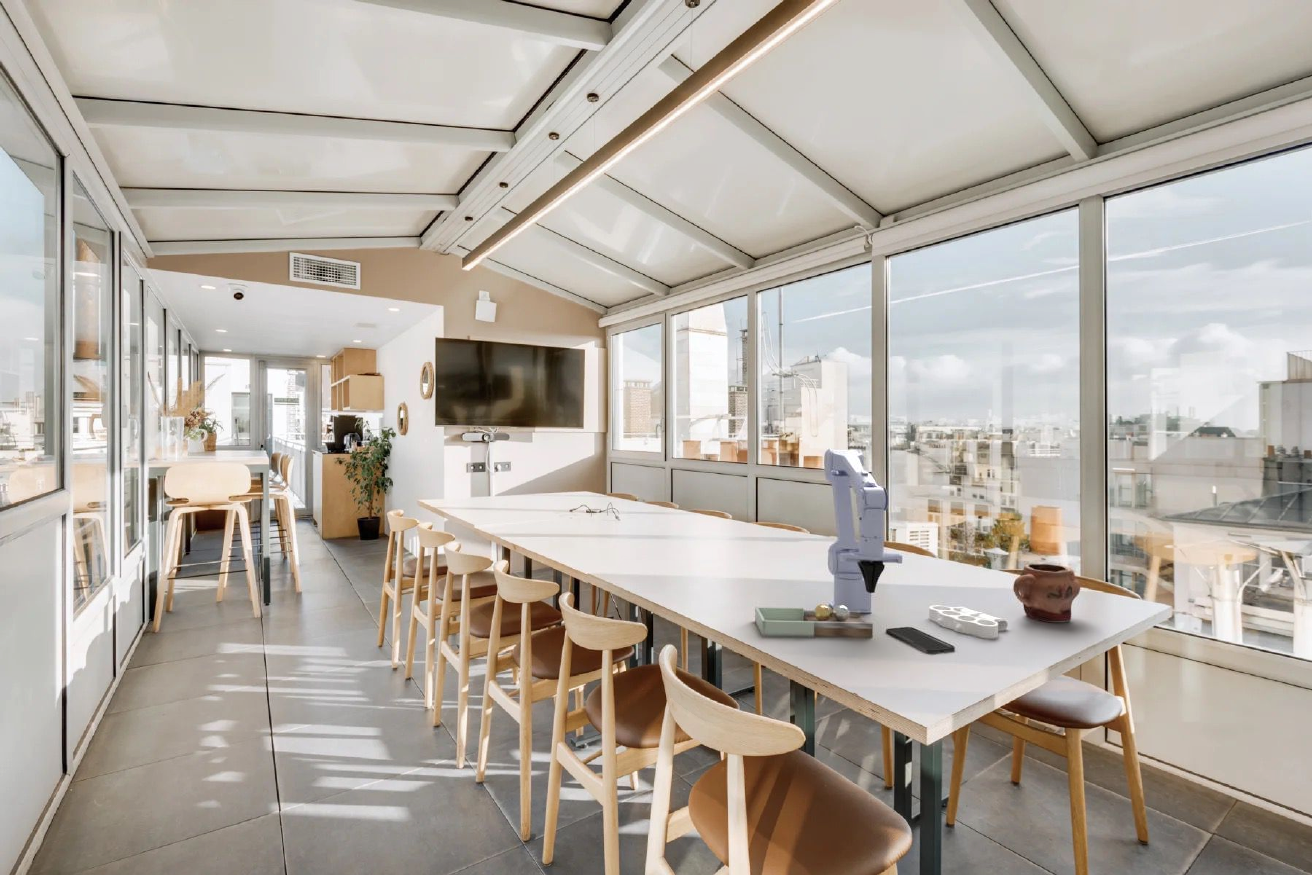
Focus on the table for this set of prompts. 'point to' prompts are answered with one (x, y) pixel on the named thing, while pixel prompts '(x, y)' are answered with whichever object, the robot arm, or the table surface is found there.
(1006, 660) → the table surface
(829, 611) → the brass ball
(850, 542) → the robot arm
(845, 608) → the steel ball
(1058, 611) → the decorative planter
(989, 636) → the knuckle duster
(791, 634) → the sage tray
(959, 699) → the table surface
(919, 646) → the phone
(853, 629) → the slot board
